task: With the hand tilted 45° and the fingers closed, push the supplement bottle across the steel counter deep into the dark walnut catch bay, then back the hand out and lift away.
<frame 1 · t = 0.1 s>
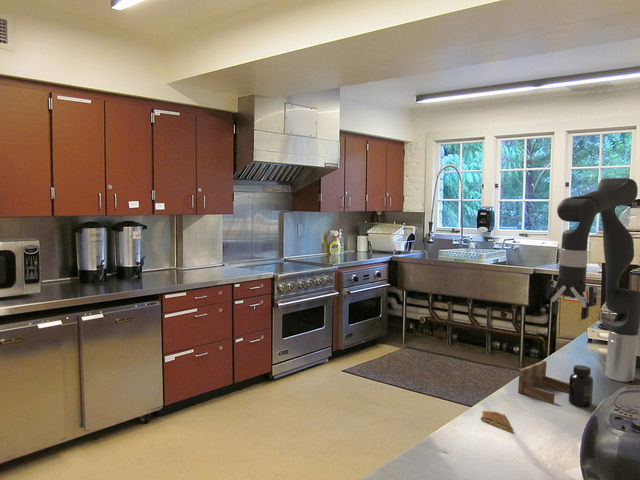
hand: (569, 316, 155), 29 cm above the countertop, tool pointing down, fingers open, 8 cm apart
supplement bottle: (579, 404, 161), on the countertop
catch bay: (547, 393, 169), on the countertop
shard: (500, 424, 146), on the countertop
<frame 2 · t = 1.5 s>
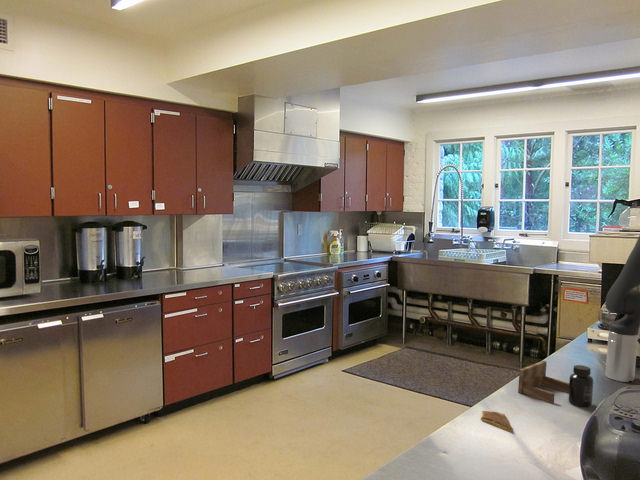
nothing on the countertop moved.
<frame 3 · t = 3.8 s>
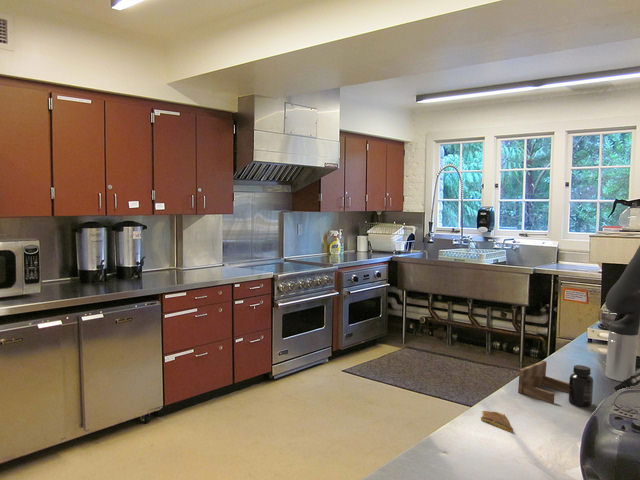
hand: (617, 390, 152), 8 cm above the countertop, tool tilted 45°, fingers closed
nothing on the countertop moved.
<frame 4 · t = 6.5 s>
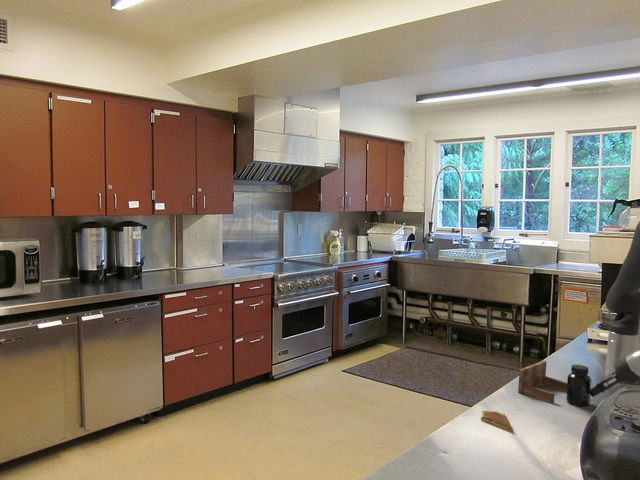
hand: (591, 393, 158), 4 cm above the countertop, tool tilted 45°, fingers closed
supplement bottle: (577, 403, 161), on the countertop, touching gripper
everything else where it was.
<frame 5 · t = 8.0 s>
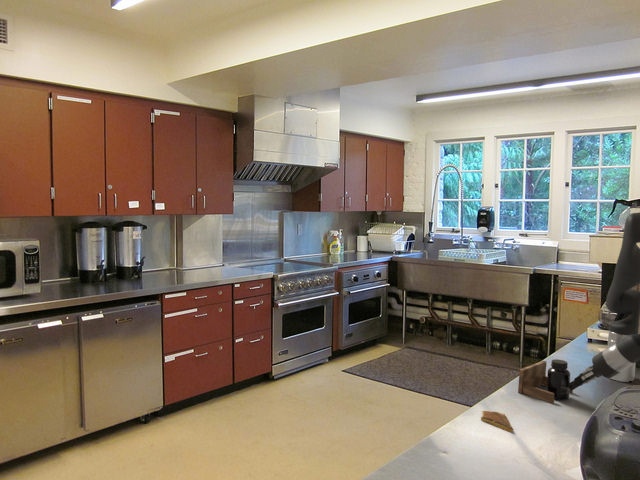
hand: (569, 387, 163), 4 cm above the countertop, tool tilted 45°, fingers closed
supplement bottle: (557, 397, 166), on the countertop, touching gripper
everything else where it was.
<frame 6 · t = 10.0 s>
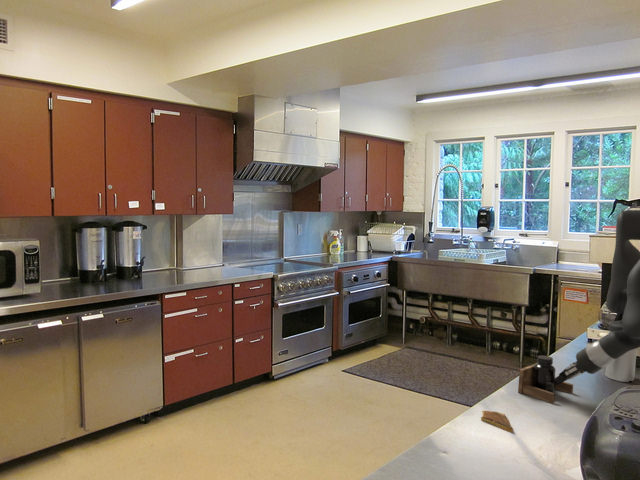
hand: (554, 382, 167), 4 cm above the countertop, tool tilted 45°, fingers closed
supplement bottle: (543, 392, 170), resting in catch bay
everything else where it was.
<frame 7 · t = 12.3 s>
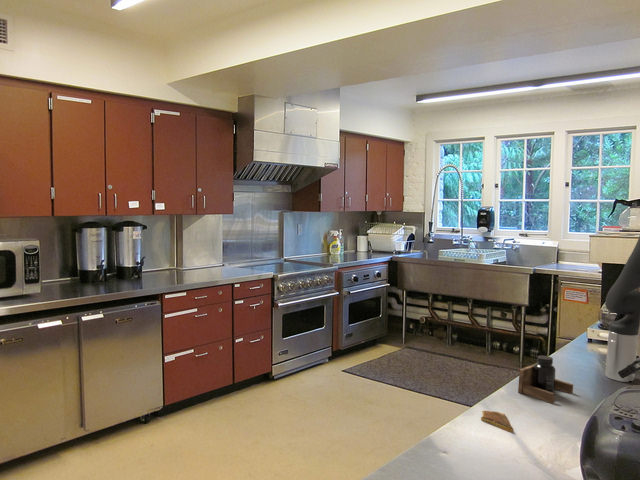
hand: (620, 375, 153), 12 cm above the countertop, tool tilted 45°, fingers closed
nothing on the countertop moved.
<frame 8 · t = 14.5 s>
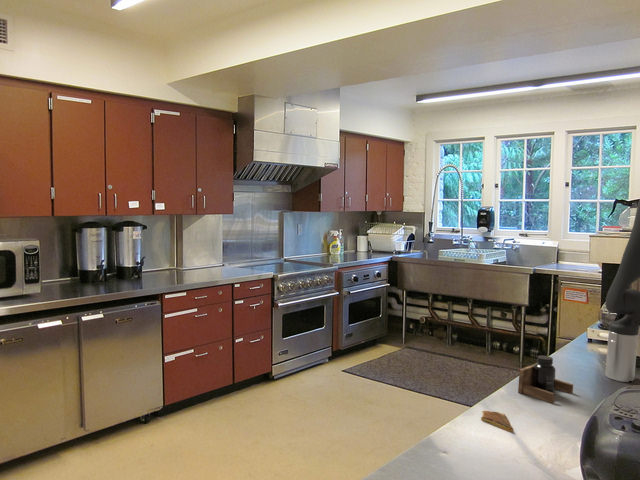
hand: (634, 324, 152), 28 cm above the countertop, tool tilted 45°, fingers closed
nothing on the countertop moved.
at the end: supplement bottle inside the target area on the catch bay (0.3 cm from its centre), point 0.0 cm above the catch bay's base; supplement bottle tilted 0° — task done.
